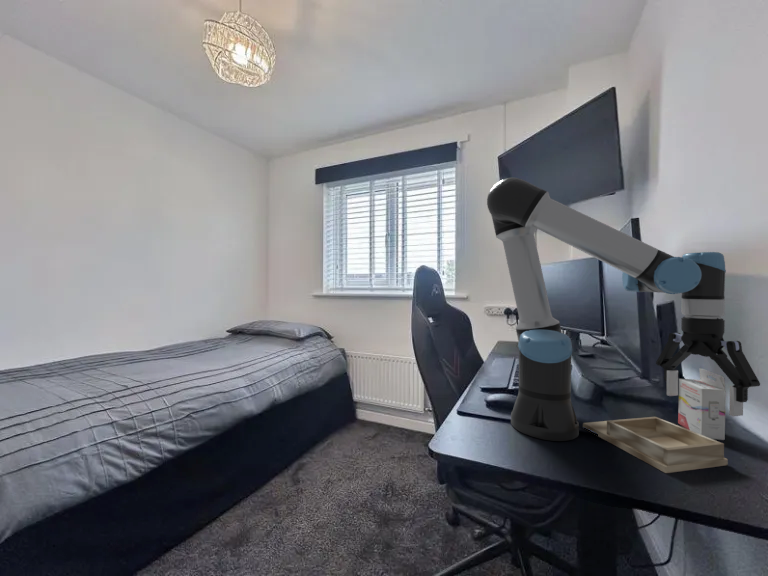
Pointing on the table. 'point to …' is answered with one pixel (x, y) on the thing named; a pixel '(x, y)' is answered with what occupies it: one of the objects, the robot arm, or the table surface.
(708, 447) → the wooden tray
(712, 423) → the ink cartridge box
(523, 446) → the table surface
